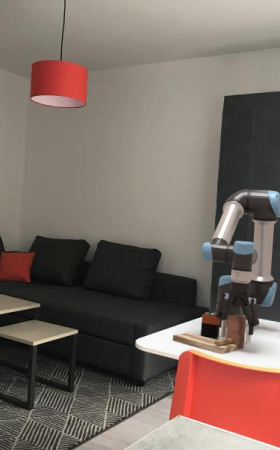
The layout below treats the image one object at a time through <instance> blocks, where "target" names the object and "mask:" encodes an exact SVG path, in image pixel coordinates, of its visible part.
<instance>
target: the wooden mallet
mask: <svg viewBox="0 0 280 450" xmlns="http://www.w3.org/2000/svg"><path fill="white" fill-rule="evenodd" d="M246 328H247V319H246V317H245V315H243V316H241V315H237V314H236V315H228V322H227V328H226V337H225V338H224V339H223V338H222V339H216V340H217V341H215V345H222V344H227V343H230V344H234V345H237V347H236V351H237V350H241V349H244V347H245V338H246Z"/></svg>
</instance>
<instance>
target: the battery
mask: <svg viewBox="0 0 280 450" xmlns="http://www.w3.org/2000/svg"><path fill="white" fill-rule="evenodd" d="M216 314H217V313H214V312H212V313H210V312H209V311H206V312H205V313H203V314H202V315H201V316H202V317H201V326H200V327H201V328H200V336H203V337H207V338H211V339H215V340H218V338H219V335H220V329H221V328H220V319H219V318H218V317H216Z"/></svg>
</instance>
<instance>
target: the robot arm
mask: <svg viewBox="0 0 280 450" xmlns="http://www.w3.org/2000/svg"><path fill="white" fill-rule="evenodd" d="M244 215H248V216H251V220H252V222H253V223H254V227H253V229H254V230H253V231H254V232H253V241H243V240H236V241H234V244H231V242H232V238H233V237H234V236H233V235H234V233H235V231H236V228H237V225H238V222H239V220H240V219H241V218H242V217H243V216H244ZM278 218H280V192H278V191H276V190H275V191H274V190H268V189H266V190H265V189H246V188H245V189H241V190H238V191H237V192H235V193H233V194H231V195H230V196H229V197H228V198H227V199H226V201H225V202H224V204H223V207H222V215H221V216H220V220H219V222H218V224H217V226H216V229H215V231H214V233H213V236H212V238H211V241H209V242H207V241H205V242H204V243H203V244H202V247H201V252H200V253H201V259H202V260H203V261H208V262H212V263H213V262H214V263H215V262H216V263H224V264H231V274H230V275H222V276H220V277H219V281H218V288H217V289H218V290H217V300H216V301H217V302H216V307H215V309H214V312H213V313H217V314H216V317H218V318H219V319H220V328H219V329H220V334H219V335H220V338H221V339H223V338H226V333H227V322H228V315H236V314H237V315H241V316H245V317H246V323H247V325H246V329H245V339H244V345H248V344H251V341H252V336H253V335H254V331H255V327H256V326H259V325H260V320H259V314H258V308H257V306H258V307H267V308H270V307H271V306H272V305H273V302H274V300H275V297H276V296H275V295H276V291H277V287H278V286H277V285H278V283H277V282H275V281H274V280H275V279H274V277H273V276H272V275H271V274H272V273H271V271H272V256H273V243H274V230H275V229H274V227H275V224H276V223H277V222H278V220H279V219H278ZM249 305H250V306H249ZM249 307H250V309H249ZM243 314H244V315H243Z"/></svg>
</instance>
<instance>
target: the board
mask: <svg viewBox="0 0 280 450" xmlns="http://www.w3.org/2000/svg"><path fill="white" fill-rule="evenodd" d="M217 340H218V339H213V338H207V337H203V336H201V335H199V334H194V333H191V332H186V333H177V334H173V336H172V341H174V342H178V343H181V344H184V345H187V346H191V347H196V348H199V349H203V350H206V351H210V352H214V353H217V354H221V355H223V354H227V353H232V352H236V351H237V350H236V347H237V345H234V344H230V343H227V344H222V345H215V341H217Z"/></svg>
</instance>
